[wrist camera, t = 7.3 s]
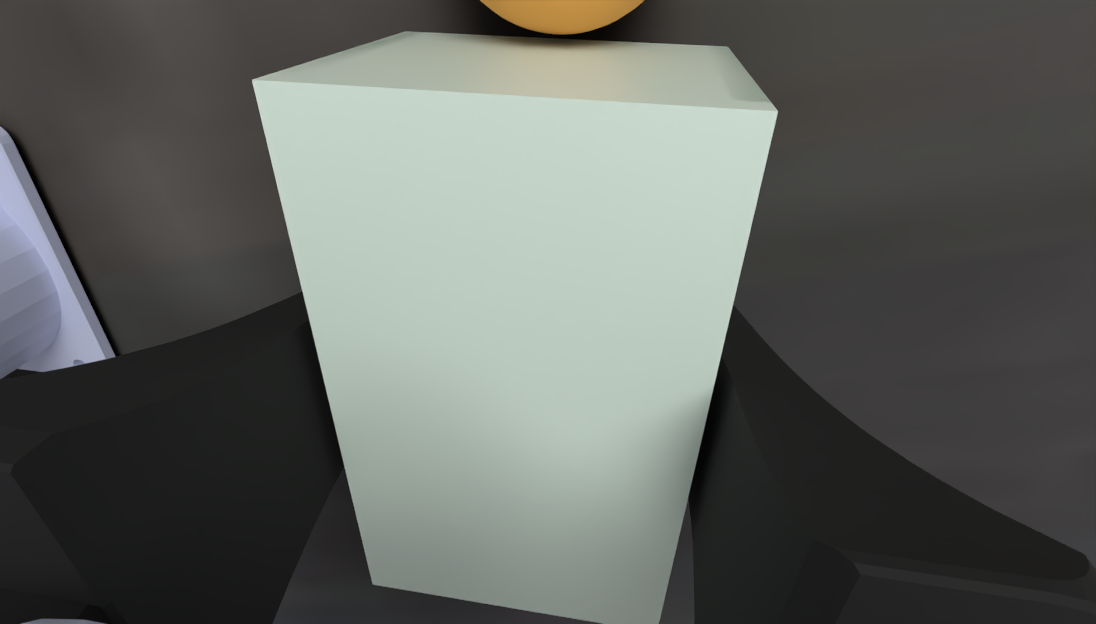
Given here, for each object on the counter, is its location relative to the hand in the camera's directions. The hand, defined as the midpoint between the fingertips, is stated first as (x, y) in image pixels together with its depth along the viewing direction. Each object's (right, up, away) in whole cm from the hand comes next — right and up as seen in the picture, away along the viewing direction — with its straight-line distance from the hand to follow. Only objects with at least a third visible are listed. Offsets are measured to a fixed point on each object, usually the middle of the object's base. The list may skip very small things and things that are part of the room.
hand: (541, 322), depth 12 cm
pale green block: (0, +1, +1) cm, 2 cm away
